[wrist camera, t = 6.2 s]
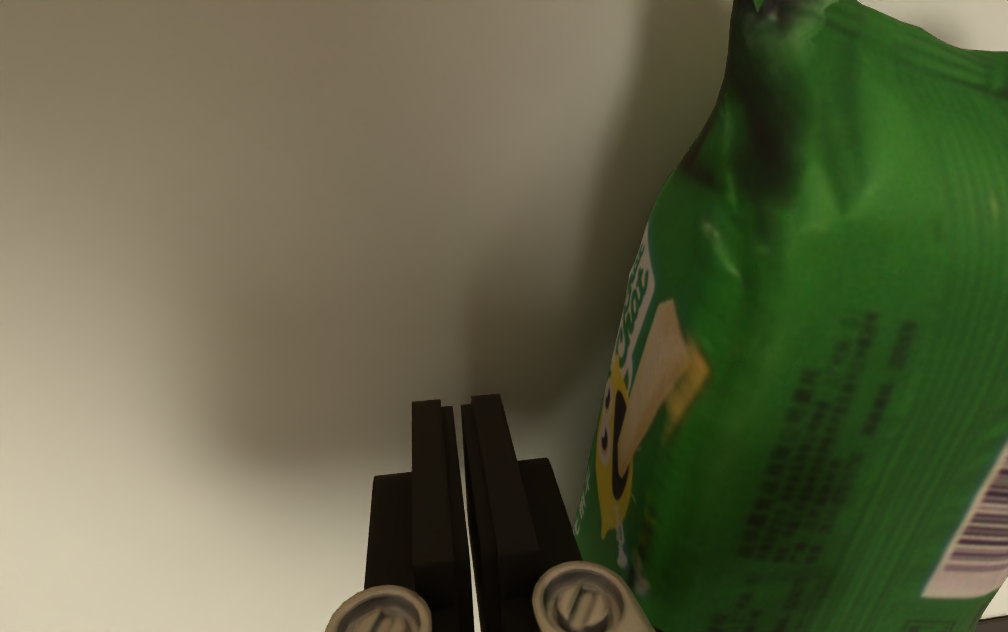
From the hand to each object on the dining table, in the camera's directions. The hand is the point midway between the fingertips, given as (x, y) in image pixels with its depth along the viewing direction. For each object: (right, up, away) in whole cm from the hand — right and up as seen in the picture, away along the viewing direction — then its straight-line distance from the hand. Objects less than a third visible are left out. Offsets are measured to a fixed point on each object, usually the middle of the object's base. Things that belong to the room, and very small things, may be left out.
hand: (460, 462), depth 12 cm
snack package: (+6, +1, +2) cm, 6 cm away
